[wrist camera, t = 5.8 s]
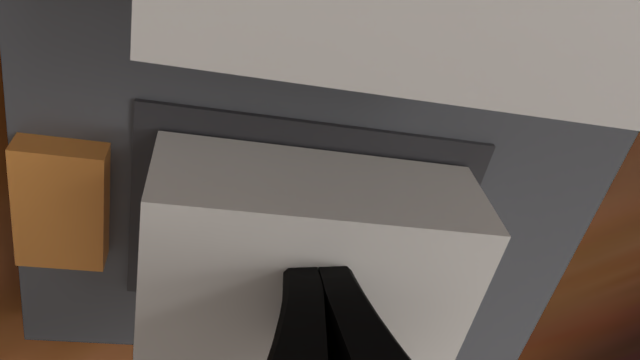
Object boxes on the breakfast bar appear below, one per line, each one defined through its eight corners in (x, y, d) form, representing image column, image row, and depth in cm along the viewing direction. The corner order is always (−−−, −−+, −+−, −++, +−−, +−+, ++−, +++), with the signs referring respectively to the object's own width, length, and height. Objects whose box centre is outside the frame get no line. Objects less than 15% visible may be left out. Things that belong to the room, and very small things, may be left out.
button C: (468, 167, 15) (511, 236, 13) (418, 297, 17) (447, 377, 15) (158, 130, 13) (140, 201, 11) (148, 278, 16) (132, 363, 13)
